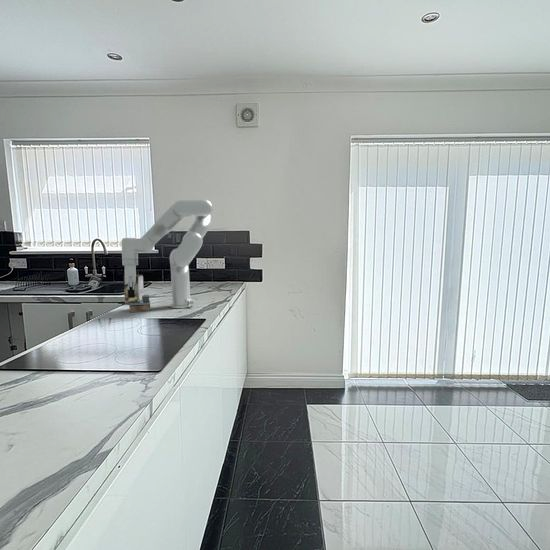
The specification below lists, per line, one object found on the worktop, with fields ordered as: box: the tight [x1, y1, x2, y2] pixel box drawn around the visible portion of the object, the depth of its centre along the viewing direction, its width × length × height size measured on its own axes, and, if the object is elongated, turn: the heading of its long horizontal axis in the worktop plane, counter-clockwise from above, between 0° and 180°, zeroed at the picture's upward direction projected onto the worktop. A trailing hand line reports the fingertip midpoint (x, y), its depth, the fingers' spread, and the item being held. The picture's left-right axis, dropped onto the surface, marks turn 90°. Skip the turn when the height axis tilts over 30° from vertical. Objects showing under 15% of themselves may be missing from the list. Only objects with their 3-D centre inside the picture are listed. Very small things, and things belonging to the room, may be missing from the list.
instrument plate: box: [128, 294, 151, 306], centre depth 181 cm, size 10×8×4 cm
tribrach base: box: [128, 304, 152, 313], centre depth 182 cm, size 10×8×3 cm
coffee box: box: [122, 274, 145, 305], centre depth 199 cm, size 9×6×16 cm
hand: (131, 297), depth 180 cm, fingers closed
